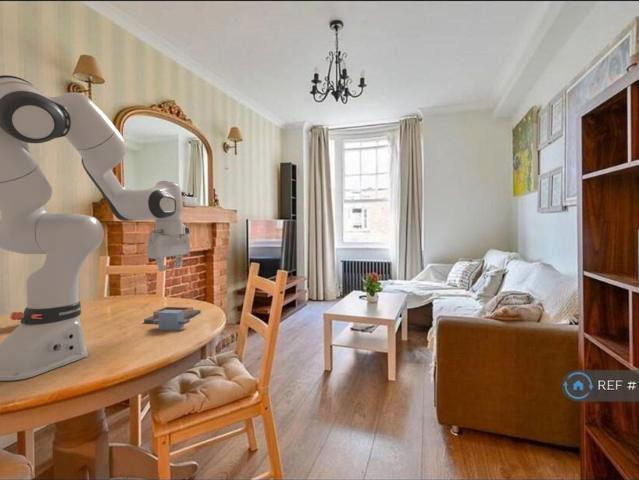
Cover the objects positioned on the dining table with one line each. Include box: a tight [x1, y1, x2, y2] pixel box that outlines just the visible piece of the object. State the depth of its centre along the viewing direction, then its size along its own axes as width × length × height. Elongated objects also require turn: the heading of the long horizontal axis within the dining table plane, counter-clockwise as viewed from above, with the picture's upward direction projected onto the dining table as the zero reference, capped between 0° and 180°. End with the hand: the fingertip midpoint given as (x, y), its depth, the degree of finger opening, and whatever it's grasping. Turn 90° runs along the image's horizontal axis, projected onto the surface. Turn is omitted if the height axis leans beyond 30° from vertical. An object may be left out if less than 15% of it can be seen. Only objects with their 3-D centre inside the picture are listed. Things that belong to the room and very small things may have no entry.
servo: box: [152, 310, 191, 331], centre depth 118 cm, size 4×12×6 cm, turn 82°
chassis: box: [143, 306, 201, 324], centre depth 131 cm, size 16×14×3 cm
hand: (170, 269), depth 117 cm, fingers open, 8 cm apart
